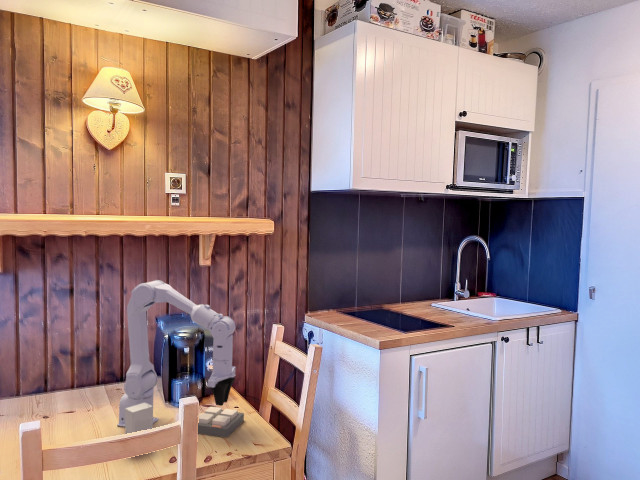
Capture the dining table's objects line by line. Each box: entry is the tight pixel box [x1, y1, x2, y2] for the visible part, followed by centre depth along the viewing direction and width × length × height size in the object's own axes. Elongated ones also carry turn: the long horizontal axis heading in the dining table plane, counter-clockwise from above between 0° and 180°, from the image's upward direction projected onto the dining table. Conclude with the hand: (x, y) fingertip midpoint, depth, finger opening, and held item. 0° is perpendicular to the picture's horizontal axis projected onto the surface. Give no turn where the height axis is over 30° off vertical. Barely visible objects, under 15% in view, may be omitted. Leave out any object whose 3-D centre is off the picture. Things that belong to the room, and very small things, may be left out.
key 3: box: [212, 415, 230, 427], centre depth 142 cm, size 4×4×2 cm
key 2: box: [203, 406, 223, 417], centre depth 148 cm, size 4×4×2 cm
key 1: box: [198, 412, 214, 424], centre depth 143 cm, size 4×4×2 cm
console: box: [197, 409, 245, 438], centre depth 145 cm, size 12×12×3 cm
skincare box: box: [124, 402, 154, 435], centre depth 128 cm, size 6×4×12 cm
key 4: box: [220, 408, 239, 420], centre depth 147 cm, size 4×4×2 cm
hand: (221, 403), depth 141 cm, fingers open, 2 cm apart
